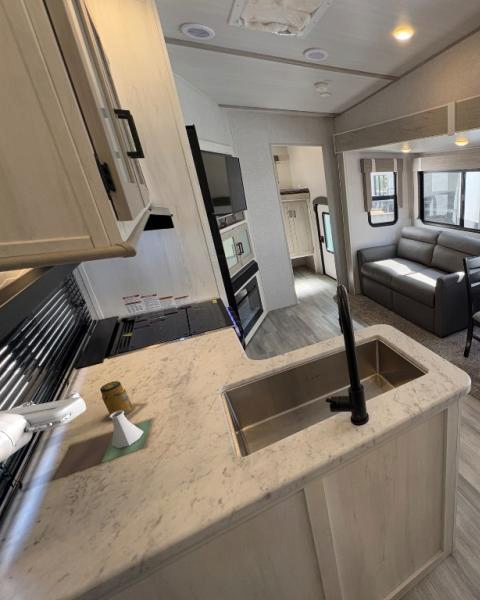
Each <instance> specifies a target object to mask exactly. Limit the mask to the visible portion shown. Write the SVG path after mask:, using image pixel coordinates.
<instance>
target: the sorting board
mask: <svg viewBox="0 0 480 600" xmlns="http://www.w3.org/2000/svg"><path fill="white" fill-rule="evenodd" d="M151 423H152V419H148V420H146V421H142V422H138V423H136V424H134V425H135V426H136V427H137V428H139V429H140V430H142V431H143V434H142V435H141V437H140V438H139V439H138V440H137V441H135V442H134V443H132V444H131V445H129V446H125V447H121V448H117V447H114V446H112V442H113V432H114V431H111V432H109V433H105V434H103V435H99V436H96V437H93V438H90V439H87V440H83V441H80V442H77V443H74V444H71V446H70V448H69V450H68V452H67V454H66V455H65V458H64V459H63V461H62V462H61V464H60V466H59V468H58V470H57V472H56V474H55V475H54V478H53V481H55V480H57V479H60V478H62V477H63V478H64V477H66V476H68V475H69V476H70V475H72V474H74V473H77V472H80V471H83V470H86V469H88V468H89V469H90V468H92V467H94V466H97V465H100V464H102V463H106V462H108V461H111V460H113V459H117V458H119V457H122V456H125V455H128V454H131V453H133V452H136V451H139V450H142V449H144V448H145V447H146V444H147V440H148V435H149V431H150V428H151Z"/></svg>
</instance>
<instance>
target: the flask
mask: <svg viewBox="0 0 480 600" xmlns="http://www.w3.org/2000/svg"><path fill="white" fill-rule="evenodd" d="M123 413H124V411H122V410H120V411H116V412H114V413H112V414H111V415H110V414H109V416H108V418H109V419H111V421H112V425H113V431H112V432H113V442H112V446H114V447H117V448H121V447H125V446H129V445H131V444H132V443H134V442H135V441H137V440H138V439H139V438H140V437H141V435H142V434H143V431H142V430H140V429H139V428H137V427H136V426H135V425H136V424H133V423H132V422H130V421H129V420H128V418H127V417H126V415H125V416H124V414H123Z"/></svg>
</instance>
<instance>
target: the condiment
mask: <svg viewBox="0 0 480 600" xmlns="http://www.w3.org/2000/svg"><path fill="white" fill-rule="evenodd" d="M99 391H100V393H101V399H102V401H103V403H104V405H105V407H106V409H107V412H108V413H109V416H110V415H111V414H112V413H114V412H116V411H120V410H122V411H124V413H123V414H124V416H125V417H126V416H127V415H129V414H130V413H132V411H133V410H134V405H133V404H132V402H131V400H130V397H129V395H128V392H127V391H126V388H125V387H123V385H122V383H121V382H120V381H118V380H114V381H110V382H107V383H105V384H104V385H102V386H101V387H100V389H99Z"/></svg>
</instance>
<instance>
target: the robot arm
mask: <svg viewBox="0 0 480 600" xmlns="http://www.w3.org/2000/svg"><path fill="white" fill-rule="evenodd" d="M86 410H87V405H86V402H85V400H84V399H83V398H82V396H80V393H78V392H76V393H70V394H68V395H67V396H66V397H65V399H60V400H55V401H48V402H44V403H38V404H35V401H34V400H31V401H26V402H24V403H22V404H20V405H17V406H15V407H11V408H9V409H5V410H0V463H2V462H4V461H5V460H7V459H8V458H9V457H10V456H12V455H13V454H15V453H16V452H17V451H19V450H20V449H21V448H23V447H24V446H26V445H27V444H28V443H29V442H30V441H31V439H32V437H33V435H34V433H38V432H43V431H47V430H53V429H57V428H60V427H62V426H65V425H66V424H68V423H69V422H71V421H72V420H75V419H76V418H77V417H79V416H81V414H83V413H85V411H86Z"/></svg>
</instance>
